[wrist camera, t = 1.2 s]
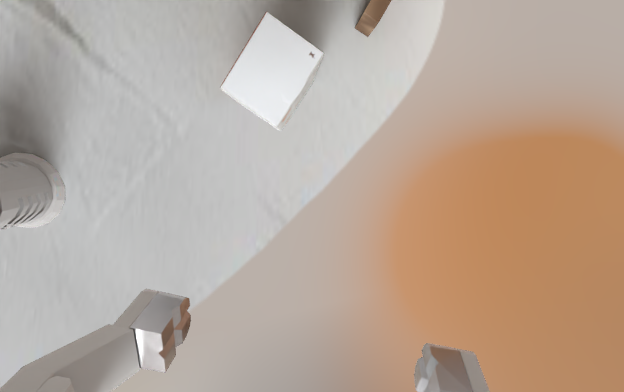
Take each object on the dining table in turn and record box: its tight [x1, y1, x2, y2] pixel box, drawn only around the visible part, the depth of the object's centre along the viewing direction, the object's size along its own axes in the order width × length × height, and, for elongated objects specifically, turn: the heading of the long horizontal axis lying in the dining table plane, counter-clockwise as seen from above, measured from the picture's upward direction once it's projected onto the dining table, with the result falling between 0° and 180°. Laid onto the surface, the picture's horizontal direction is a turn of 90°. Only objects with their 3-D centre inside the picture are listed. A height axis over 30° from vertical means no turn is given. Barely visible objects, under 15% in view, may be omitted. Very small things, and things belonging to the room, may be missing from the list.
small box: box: [220, 12, 324, 131], centre depth 35 cm, size 8×6×13 cm
